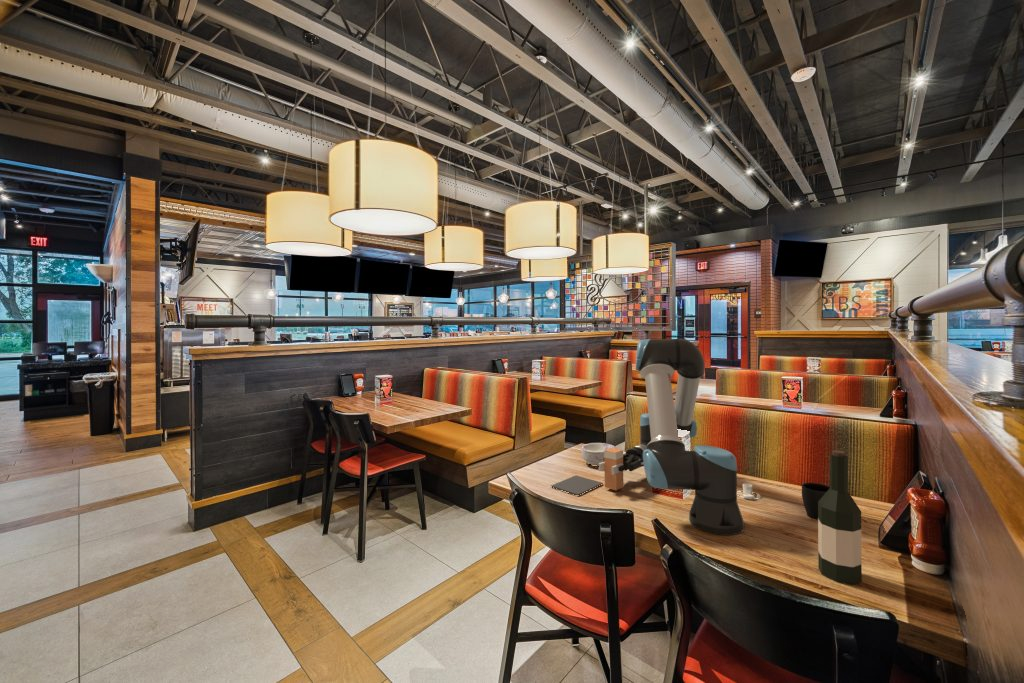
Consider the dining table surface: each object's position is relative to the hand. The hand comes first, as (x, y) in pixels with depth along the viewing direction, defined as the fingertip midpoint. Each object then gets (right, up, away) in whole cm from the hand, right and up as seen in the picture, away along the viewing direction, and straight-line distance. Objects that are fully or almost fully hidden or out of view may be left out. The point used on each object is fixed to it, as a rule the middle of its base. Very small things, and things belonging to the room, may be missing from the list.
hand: (605, 469), depth 155 cm
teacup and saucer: (+47, -9, -4) cm, 48 cm away
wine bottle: (+45, -10, -53) cm, 70 cm away
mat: (-9, -9, +8) cm, 16 cm away
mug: (+63, -8, -24) cm, 68 cm away
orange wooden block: (+4, -8, +4) cm, 10 cm away
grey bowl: (+4, -9, +35) cm, 36 cm away
